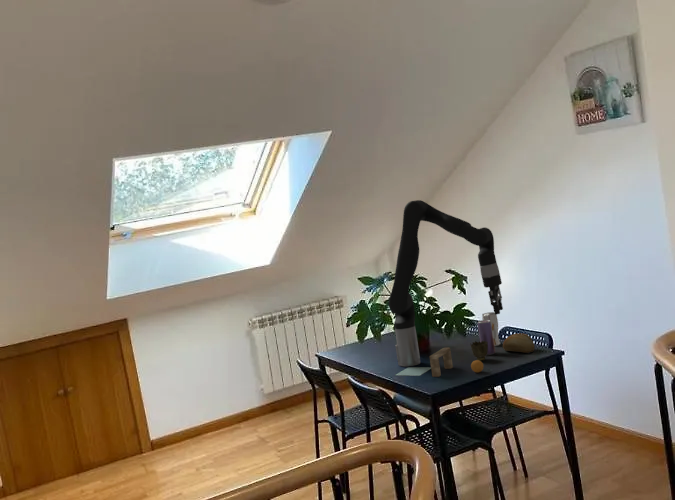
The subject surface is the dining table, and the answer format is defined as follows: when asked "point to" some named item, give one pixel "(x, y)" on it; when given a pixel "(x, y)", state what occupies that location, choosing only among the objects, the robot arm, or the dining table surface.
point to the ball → (477, 366)
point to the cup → (480, 349)
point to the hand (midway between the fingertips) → (499, 312)
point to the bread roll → (519, 343)
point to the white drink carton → (493, 325)
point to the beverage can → (486, 335)
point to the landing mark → (413, 371)
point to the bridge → (435, 361)
